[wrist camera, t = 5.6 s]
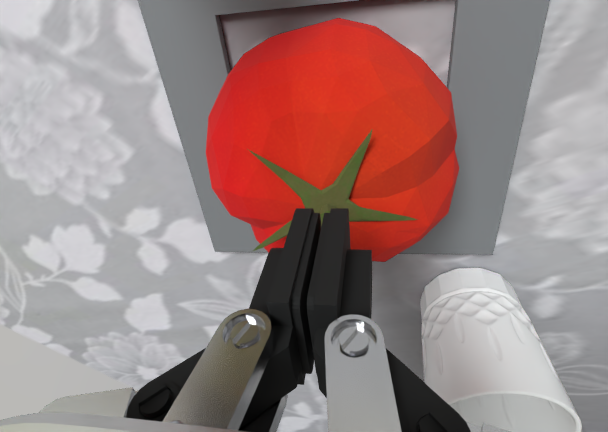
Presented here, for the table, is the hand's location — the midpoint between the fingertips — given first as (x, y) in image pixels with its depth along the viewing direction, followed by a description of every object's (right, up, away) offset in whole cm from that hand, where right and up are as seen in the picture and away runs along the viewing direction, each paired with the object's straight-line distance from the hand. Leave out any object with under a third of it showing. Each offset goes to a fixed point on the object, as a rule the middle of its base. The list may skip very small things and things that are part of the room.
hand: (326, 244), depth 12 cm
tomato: (+1, +7, +10) cm, 13 cm away
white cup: (+12, -5, +17) cm, 22 cm away
